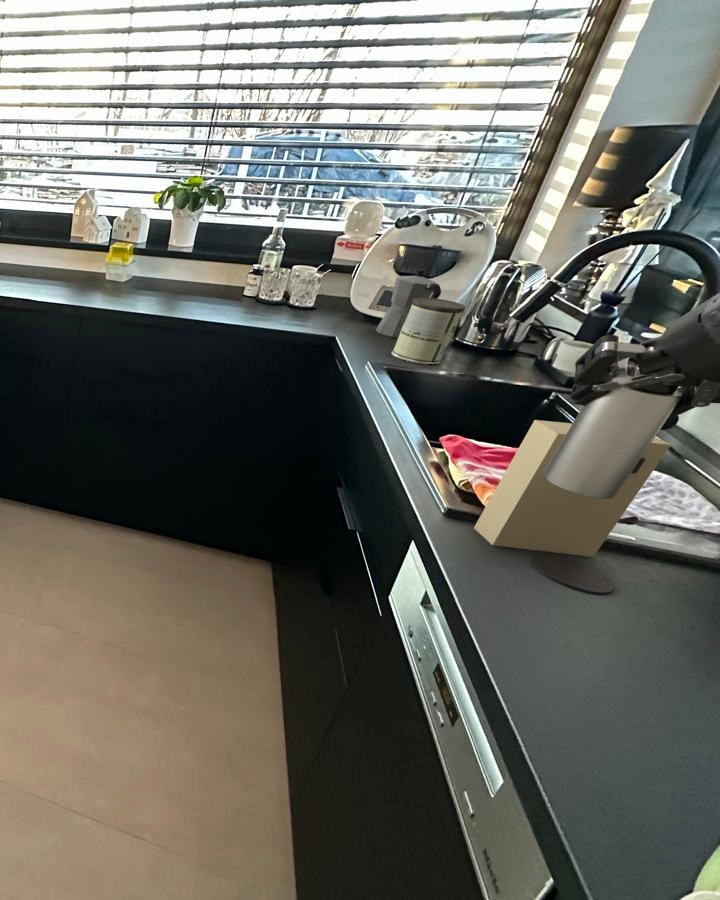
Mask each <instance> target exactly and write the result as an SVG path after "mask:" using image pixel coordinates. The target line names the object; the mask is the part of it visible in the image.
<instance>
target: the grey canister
mask: <svg viewBox="0 0 720 900" xmlns="http://www.w3.org/2000/svg"><path fill="white" fill-rule="evenodd" d="M617 375H618V371H617V372H613V373H611V376H610V379H612V378H615V377H617ZM640 375H641V374H640V371H639V368H637V376H640ZM678 388H680V387H679V386H676V385H672V384H664V383H655V384H651V385H647V386H642V387H638V388H634V389H628V388H626V387H619V388H615V389H611V390H607V391H606V393H604V394H602V395H601V396H599V397H597V398H595V399H594V400H592V401H590V402H589V403H587V404H585V405H582V407H581V409H580V411H579V412H578V414H577V416H576V417H575V419H574V421H573V422H572V426H571V427H570V429H569V431H568V432H567V434H566V436H565V437H564V439H563V441H562V442H561V444H560V446H559V447H558V449H557V451H556V452H555V454H554V456H553V458H552V459H551V461H550V463H549V464H548V466H547V468H546V469H545V471H544V473H543V477H544V478H545V479H546V480H547V481H548V482H550V483H552V484H554V485H555V486H557V487H560V488H562V489H564V490H567V491H570V492H573V493H576V494H579V495H583V496H587V497H592V498H598V499H611V498H614V497H615V496H616V494H617V493H618V491H619V490H620V488H621V487H622V485H623V484H624V482H625V481H626V479H627V478H628V476H629V475H630V473H631V472H632V470H633V469H634V467H635V466H636V464H637V463H638V461H639V460H640V459H641V457H642V456H643V454H644V453H645V451H646V450H647V448H648V447H649V445H650V444H651V442H652V441H653V439H654V438H655V437H657V435H658V433H660V430H661V429H662V428H663V426H664V424H666V421H667V420H668V419H669V418H670V417H669V415H670V414H671V412H672V411H673V409H674V408H675V406H676V405H677V404H678V402H679V401H680V399H681V398H682V396H683V394H682V393H681V392H680V391H678V390H677V389H678ZM668 417H669V418H668Z"/></svg>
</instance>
